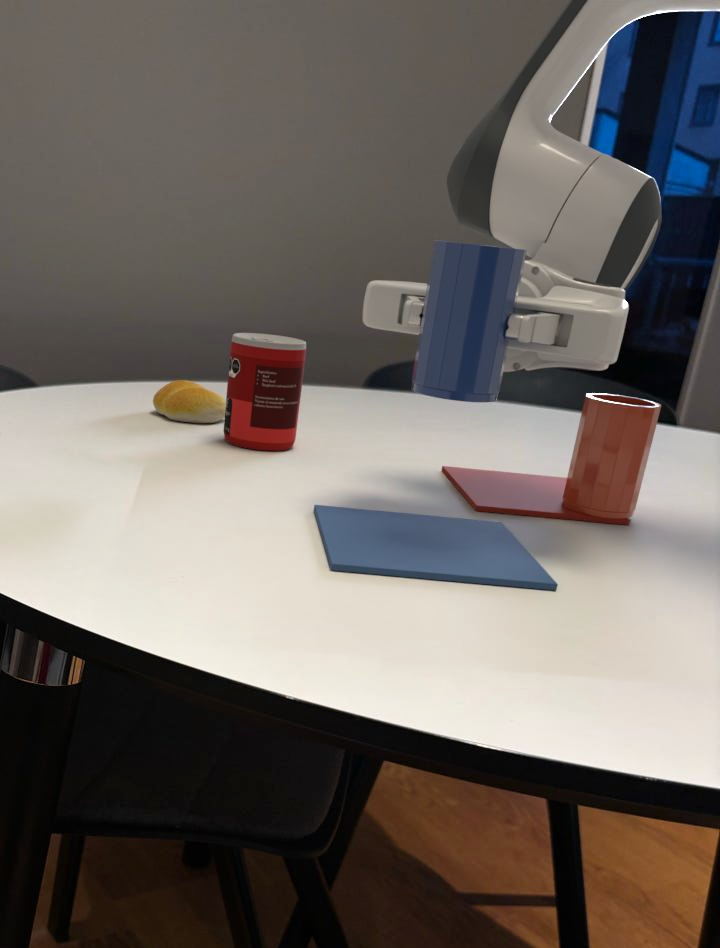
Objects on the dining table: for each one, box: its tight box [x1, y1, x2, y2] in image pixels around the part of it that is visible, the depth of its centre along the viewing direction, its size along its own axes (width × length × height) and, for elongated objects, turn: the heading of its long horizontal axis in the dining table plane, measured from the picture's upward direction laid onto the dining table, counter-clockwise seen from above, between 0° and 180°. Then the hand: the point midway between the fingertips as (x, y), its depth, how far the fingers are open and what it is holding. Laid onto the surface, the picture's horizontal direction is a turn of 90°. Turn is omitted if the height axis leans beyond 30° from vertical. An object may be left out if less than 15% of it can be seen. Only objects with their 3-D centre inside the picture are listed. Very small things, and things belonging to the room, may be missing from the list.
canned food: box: [223, 332, 307, 452], centre depth 107 cm, size 8×8×11 cm
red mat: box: [441, 465, 631, 526], centre depth 98 cm, size 14×16×1 cm
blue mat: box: [313, 504, 558, 591], centre depth 78 cm, size 16×16×1 cm
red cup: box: [562, 392, 662, 519], centre depth 92 cm, size 6×6×10 cm
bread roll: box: [152, 379, 226, 424], centre depth 119 cm, size 8×9×4 cm
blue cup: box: [410, 239, 527, 403], centre depth 74 cm, size 6×6×10 cm
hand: (463, 321), depth 73 cm, fingers closed on blue cup, 6 cm apart
